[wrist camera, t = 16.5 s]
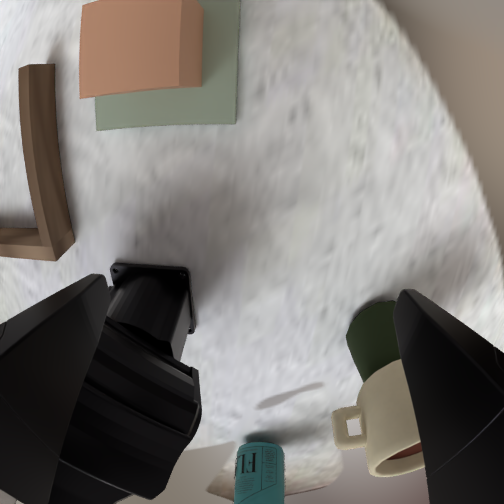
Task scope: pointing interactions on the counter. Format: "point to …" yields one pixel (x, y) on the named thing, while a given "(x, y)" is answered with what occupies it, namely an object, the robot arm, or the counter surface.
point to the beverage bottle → (259, 474)
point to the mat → (187, 99)
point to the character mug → (380, 398)
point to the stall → (40, 172)
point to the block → (140, 46)
